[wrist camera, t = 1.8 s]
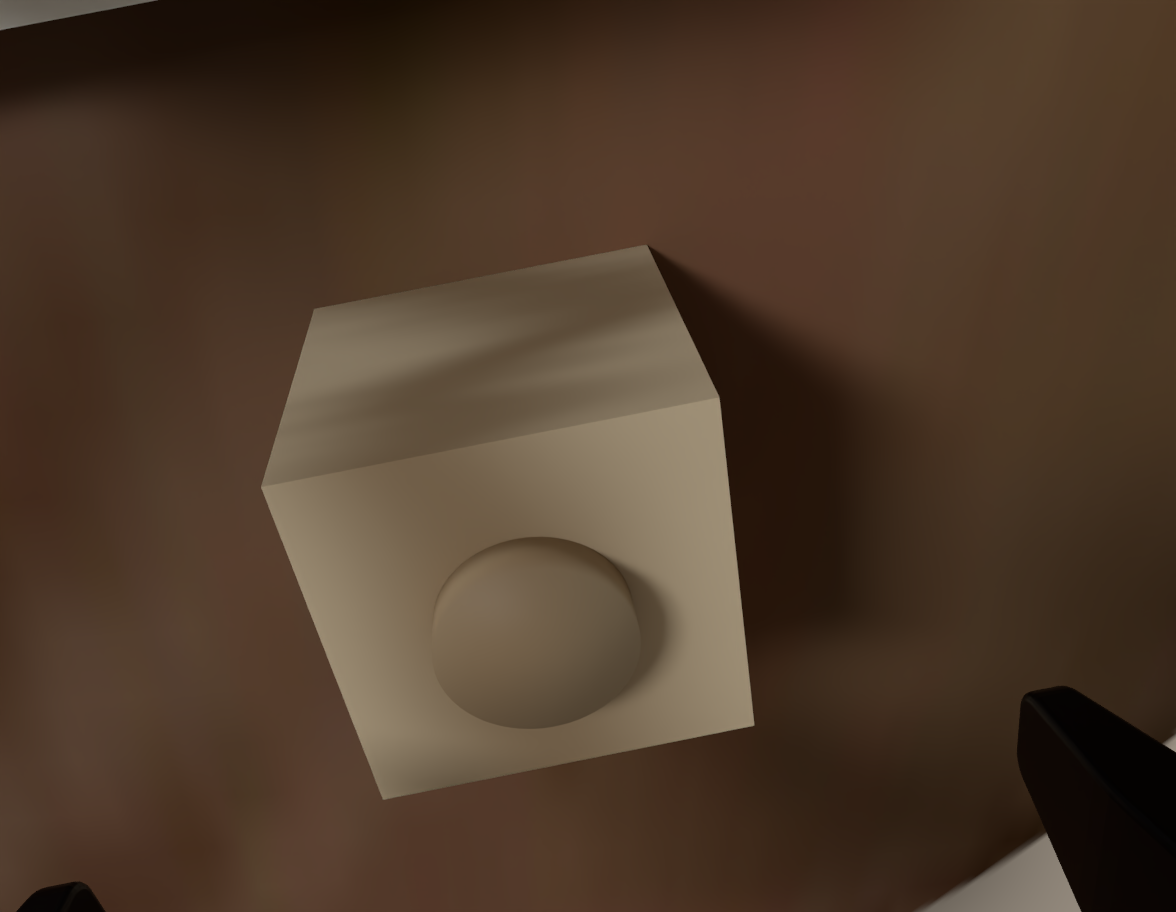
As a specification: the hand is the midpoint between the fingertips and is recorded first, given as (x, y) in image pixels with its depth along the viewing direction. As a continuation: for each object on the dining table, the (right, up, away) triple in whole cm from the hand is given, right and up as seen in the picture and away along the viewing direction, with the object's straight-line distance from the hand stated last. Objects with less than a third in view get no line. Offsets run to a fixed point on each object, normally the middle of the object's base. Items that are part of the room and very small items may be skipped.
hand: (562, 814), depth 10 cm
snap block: (-1, +4, +7) cm, 8 cm away
